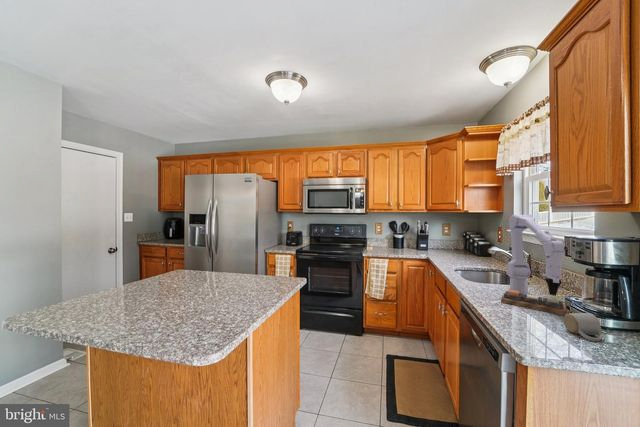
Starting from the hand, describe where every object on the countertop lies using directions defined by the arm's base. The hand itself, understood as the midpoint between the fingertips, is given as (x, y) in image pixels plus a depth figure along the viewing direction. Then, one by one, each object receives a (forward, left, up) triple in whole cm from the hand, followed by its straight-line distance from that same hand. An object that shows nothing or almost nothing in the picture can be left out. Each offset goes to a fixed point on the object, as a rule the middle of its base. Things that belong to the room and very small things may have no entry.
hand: (552, 294), depth 126 cm
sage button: (0, 0, -4) cm, 4 cm away
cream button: (+2, -7, -5) cm, 9 cm away
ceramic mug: (+23, +16, -7) cm, 29 cm away
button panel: (+2, -7, -7) cm, 10 cm away
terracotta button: (+4, -14, -4) cm, 15 cm away
